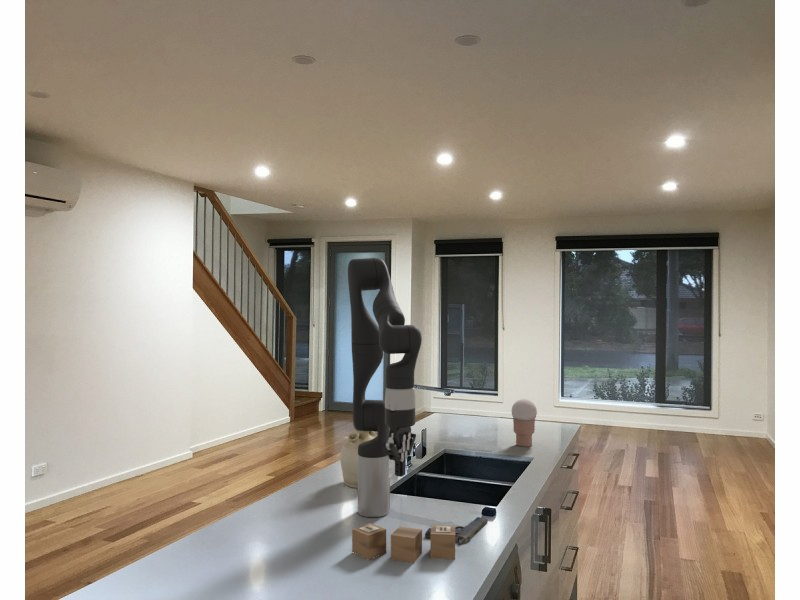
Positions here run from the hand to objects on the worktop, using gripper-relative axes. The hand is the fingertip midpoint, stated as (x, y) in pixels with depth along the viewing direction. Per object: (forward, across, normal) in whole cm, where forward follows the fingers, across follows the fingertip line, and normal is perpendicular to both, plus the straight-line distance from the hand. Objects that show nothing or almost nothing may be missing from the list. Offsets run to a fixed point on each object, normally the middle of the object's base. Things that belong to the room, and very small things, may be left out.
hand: (400, 475), depth 151 cm
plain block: (+20, 0, +2) cm, 20 cm away
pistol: (+20, -22, +6) cm, 30 cm away
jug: (+20, -45, -40) cm, 64 cm away
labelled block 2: (+20, -6, +9) cm, 22 cm away
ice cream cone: (+21, -128, -10) cm, 130 cm away
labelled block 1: (+20, +3, -7) cm, 21 cm away
